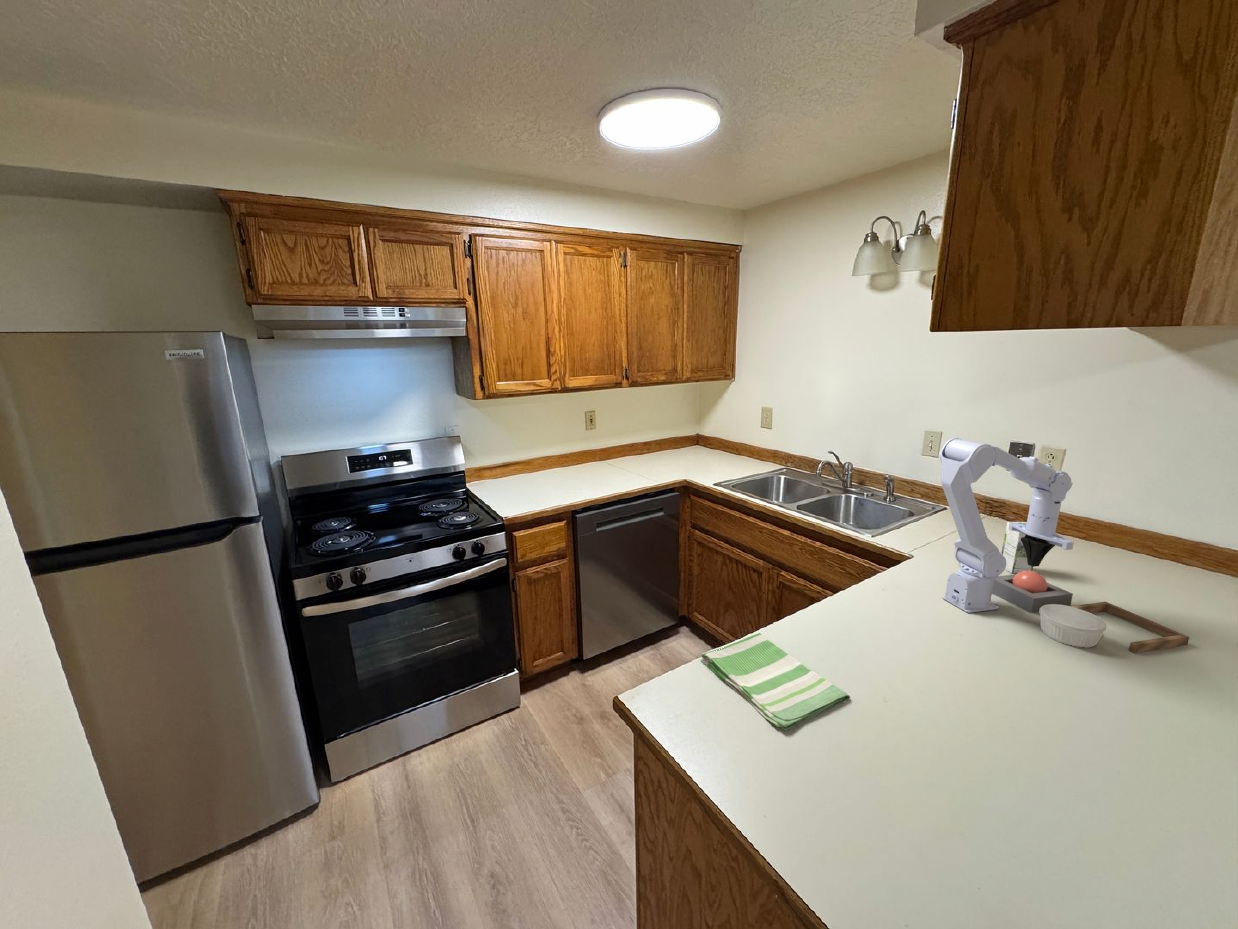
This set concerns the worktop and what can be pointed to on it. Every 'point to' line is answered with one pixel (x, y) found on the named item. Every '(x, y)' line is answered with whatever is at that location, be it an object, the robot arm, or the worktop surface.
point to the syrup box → (1015, 551)
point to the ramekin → (1071, 625)
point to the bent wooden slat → (1169, 635)
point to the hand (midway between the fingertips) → (1033, 565)
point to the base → (1029, 595)
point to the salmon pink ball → (1030, 581)
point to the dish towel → (772, 680)
